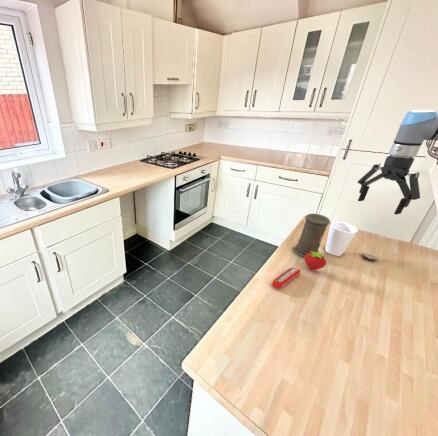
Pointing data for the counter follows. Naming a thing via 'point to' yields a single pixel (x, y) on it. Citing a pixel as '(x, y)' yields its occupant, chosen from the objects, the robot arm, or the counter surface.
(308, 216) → the container
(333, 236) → the foam cup
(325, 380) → the counter surface
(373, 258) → the puck
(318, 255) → the strawberry
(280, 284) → the candy bar
